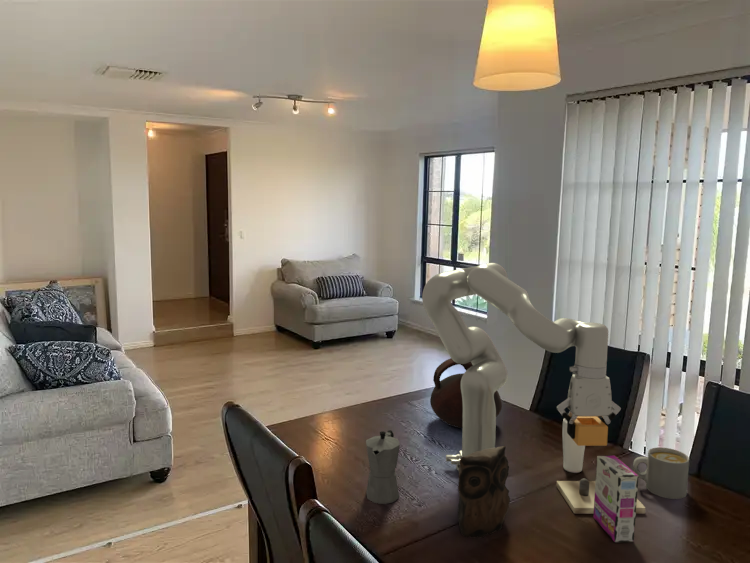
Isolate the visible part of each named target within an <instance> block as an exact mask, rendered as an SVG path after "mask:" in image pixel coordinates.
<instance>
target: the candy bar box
mask: <svg viewBox="0 0 750 563" xmlns="http://www.w3.org/2000/svg"><path fill="white" fill-rule="evenodd" d="M595 469H596V470H595V481H596V482H595V499H594V514H593V519H594V520H595V521H596V522H597V523H598V524H599V526H600V527H601V528H602V530H604V532H605V533H606V534H607V535H608V536H609V537H610V538H611V540H612V541H613V542H614V543H633V542H634V541H635V528H636V516H637V513H636V504H637V499H638V491H639V490H638V488H639V476H638V475H637V474H636V473H635V472H634V470H633V469H631V468H630V467H629V466H628V465H627V464H625V463H624V462H623V461H622V460H621V459H620V458H618V456H616V455H597V456H596V467H595Z"/></svg>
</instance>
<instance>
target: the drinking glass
mask: <svg viewBox="0 0 750 563" xmlns="http://www.w3.org/2000/svg"><path fill="white" fill-rule="evenodd" d="M562 420H563V421H562V434H561V435H562V436H561V437H562V453H563V454H562V456H563V457H562V459H563V462H562V463H563V465H562V466H563V469H564V470H565V471H567V472H569V473H574V474H577V473H580V472H582V471H583V465H584V463H583V462H584V458H585V457H584V456H585V450H586V446H578V445H577V444H576V443H575V442H574V440H573V439H572V438H571V437H570V436H569V434H568V433H567V420H566V419H565V418H564V417H563V419H562Z"/></svg>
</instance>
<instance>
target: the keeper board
mask: <svg viewBox="0 0 750 563" xmlns="http://www.w3.org/2000/svg"><path fill="white" fill-rule="evenodd" d="M595 482H596V480H589V479H587V478H585V477H584V478H581V479H580V480H556V488H557V490H558V491H559V493H560V494H561V496H562V497H563V498H564V500H565V502H566V503H567V505H568V506H569V508H570V509H571V511H572V512H573V514H580V515H581V514H584V515H585V514H588V515H589V514H593V515H594V499H595ZM636 514H646V506H645V505H644V504H643V503H642V502H641V501H640V500H639V499H638V498H637V504H636Z"/></svg>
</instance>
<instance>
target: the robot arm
mask: <svg viewBox="0 0 750 563" xmlns="http://www.w3.org/2000/svg"><path fill="white" fill-rule="evenodd" d="M508 277H509V276H508V273H507V271H506V269H505V268H504V267H503V266H502V265H500V264H498V263H497V262H487V263H484V264H483V263H482V264H479V265H477V266H471V267H465V268H464V267H463V268H459V269H454V270H450V271H444V272H440V273H438V274H435V275H433V276H432V277H431V278H429V279H428V281H427V282H426V284H425V285H424V287H423V291H422V295H421V296H422V298H421V300H422V305H423V309H424V310H425V313H426V314H427V316H428V318H429V320H430V321H431V323H432V324H433V326H434V328H435V330H436V332H437V334H438V336H439V338H440V340H441V342H442V344H443V346H444V348H445V349H446V351H447V354H448V355H449V358H451V359H452V360H453V361H454V362H456V363H458V365H460V364H466V363H469V362H471V363H472V365H473V366H472V367H470V368H469V369H468V370H465V371H464V374H463V376H462V379H461V393H462V401H463V428H461V430H462V434H461V435H462V438H461V450H459V453H456V454H445V461H446V462H450V464H451V465H456V467H455V468H456V470H457V472H459V468H460V459H461V458H462V457H463V456H464V457H465V456H467V455H469V454H471V453H474V452H476V451H482V450H484V449H490V448H496V432H497V431H496V429H497V428H496V425H497V417H496V407H495V402H494V392H496V391H499V390H500V389H501V388H503V387H504V385H506V382H507V381H508V376H509V375H508V374H509V373H508V370H507V366H506V364H505V362H504V360H503V358H502V356H501V355H500V353H499V351H498V350H497V347H496V345H495V344H494V342H493V340H492V338H491V337H490V336H489V334H488V333H487V332H486V331H485V330H484V329H483V328H481V327H478V326H468V325H467V324H466V322H465V321H464V320H465V319H463V317H462V315H461V312H460V311H459V310H458V309H457V308H456V307H455V306H454V305H453V304H452V301H453V300H454V301H455V300H458V299H460V298H465V297H468V296H475V295H477V296H478V297H480V298H482V300H484V301H486V302H488V303H489V304H490V305H492V306H493V307H495V308H496V309H498V311H500V312H502V313H503V314H504V315H506V316H507V317H508V318H509V320H510V321H511V323H512V324H513V325H514V326H515V327H516V328H517V330H518V331H519V332H520V333H521V334H522V335H523V336H525V337H526V338H527V339H528V340H530V341H531V342H533V343H534V344H535V345H537V346H538V347H539V348H542V349H543V350H545V351H547V352H549V353H555V354H556V353H557V354H559V353H562V352H564V351H566V350H567V349H569V348H571V347H575V361H574V365H572V366H569V372H570V373H572V376H571V378H570V382H569V387H568V391H567V392H568V393H567V398H566V399H565V400H563V401H562V402H560V403H559V404H558V405H557V406H555V407H556V410H557V411H558V412H559V413H560V415H561V416H562V417H563V419H564V418H565V419H566V420H567V433H568V434H569V436H570V437H571V438H572V439H574V438H575V424H574V421H575V420H576V418H577V417H578V416H597V417H600V420H601V421H602V422H603V423H605V424H606V425H607V426H608V427H609V424H611V421H612V420H613V419H615V418H616V416H617V414H619V412H620V411H621V409H622V408H621V407H620V406H619V404H617V403H615V402H614V401H613V400H612V389H611V388H612V386H611V380H610V377H609V376H607V362H608V344H609V343H608V342H609V328H608V327H607V326H606V325H605V324H603V323H599V322H591V321H590V322H584V321H579V320H575V319H572V318H566V317H560V318H557V319H556V320H554V321H553V320H551V319H550V318H548V317H546V316H545V315H544V314H542V313H541V312H540V311H539V310H537V309H536V308H535V307H534V305H533V304H532V303H531V299H530V295H529V293H528V291H527V290H526V289H525V288H523V287H521V286H519V285H518V284H517V283H515V282H514V281H512V280H511V279H509V278H508ZM566 408H567V409H568V410H569V411H568V412H566Z"/></svg>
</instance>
